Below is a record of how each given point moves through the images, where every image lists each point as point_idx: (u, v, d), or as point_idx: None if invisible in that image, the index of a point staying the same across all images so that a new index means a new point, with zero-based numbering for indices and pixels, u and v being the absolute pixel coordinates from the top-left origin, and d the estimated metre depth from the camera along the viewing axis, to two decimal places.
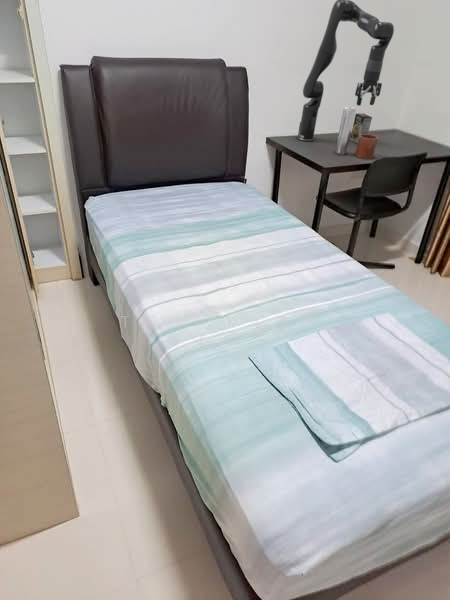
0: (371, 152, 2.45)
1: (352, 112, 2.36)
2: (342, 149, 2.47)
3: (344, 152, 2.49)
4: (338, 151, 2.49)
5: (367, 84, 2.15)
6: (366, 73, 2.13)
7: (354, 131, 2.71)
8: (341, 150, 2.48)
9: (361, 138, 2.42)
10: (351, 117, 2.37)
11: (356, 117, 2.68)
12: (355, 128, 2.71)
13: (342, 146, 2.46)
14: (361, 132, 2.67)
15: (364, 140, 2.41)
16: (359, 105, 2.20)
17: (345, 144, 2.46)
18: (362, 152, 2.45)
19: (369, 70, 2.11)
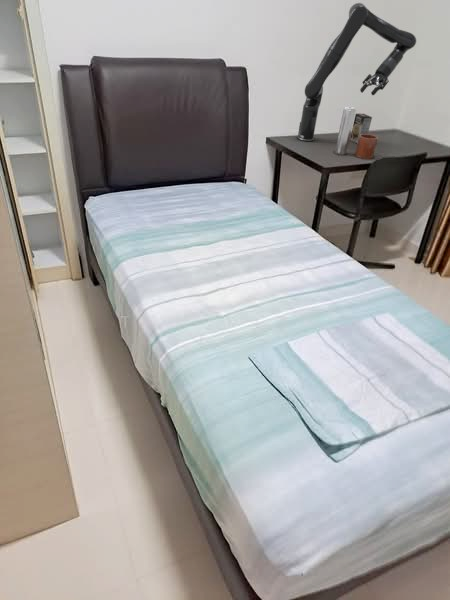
0: (371, 152, 2.45)
1: (352, 112, 2.36)
2: (342, 149, 2.47)
3: (344, 152, 2.49)
4: (338, 151, 2.49)
5: None
6: (389, 71, 2.34)
7: (354, 131, 2.71)
8: (341, 150, 2.48)
9: (361, 138, 2.42)
10: (351, 117, 2.37)
11: (356, 117, 2.68)
12: (355, 128, 2.71)
13: (342, 146, 2.46)
14: (361, 132, 2.67)
15: (364, 140, 2.41)
16: None
17: (345, 144, 2.46)
18: (362, 152, 2.45)
19: (391, 71, 2.35)
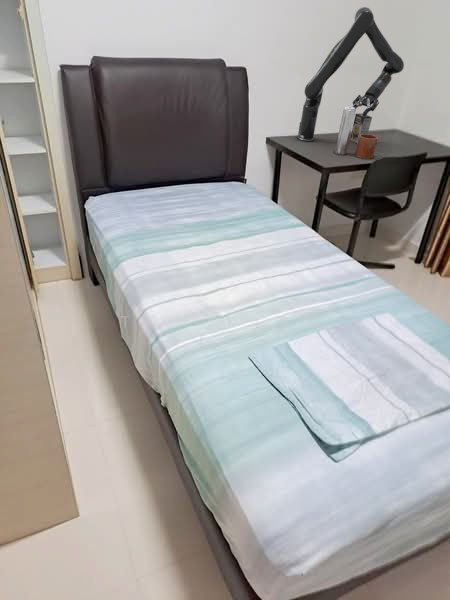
0: (371, 152, 2.45)
1: (352, 112, 2.36)
2: (342, 149, 2.47)
3: (344, 152, 2.49)
4: (338, 151, 2.49)
5: None
6: (379, 93, 2.40)
7: (354, 131, 2.71)
8: (341, 150, 2.48)
9: (361, 138, 2.42)
10: (351, 117, 2.37)
11: (356, 117, 2.68)
12: (355, 128, 2.71)
13: (342, 146, 2.46)
14: (361, 132, 2.67)
15: (364, 140, 2.41)
16: None
17: (345, 144, 2.46)
18: (362, 152, 2.45)
19: (381, 93, 2.41)
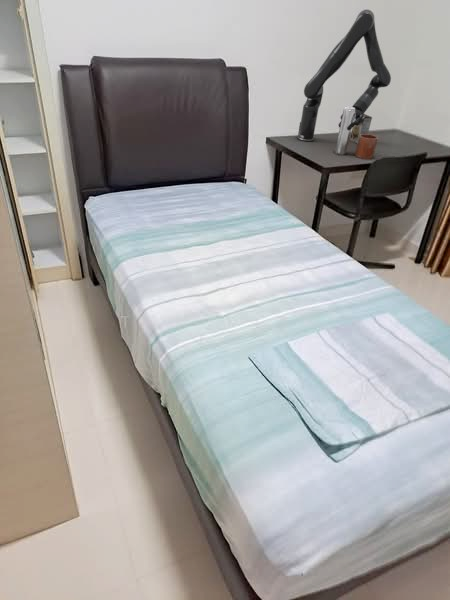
0: (371, 152, 2.45)
1: (352, 112, 2.36)
2: (342, 149, 2.47)
3: (344, 152, 2.49)
4: (338, 151, 2.49)
5: None
6: (365, 107, 2.39)
7: (354, 131, 2.71)
8: (341, 150, 2.48)
9: (361, 138, 2.42)
10: (351, 117, 2.37)
11: None
12: (355, 128, 2.71)
13: (342, 146, 2.46)
14: (361, 132, 2.67)
15: (364, 140, 2.41)
16: None
17: (345, 144, 2.46)
18: (362, 152, 2.45)
19: None
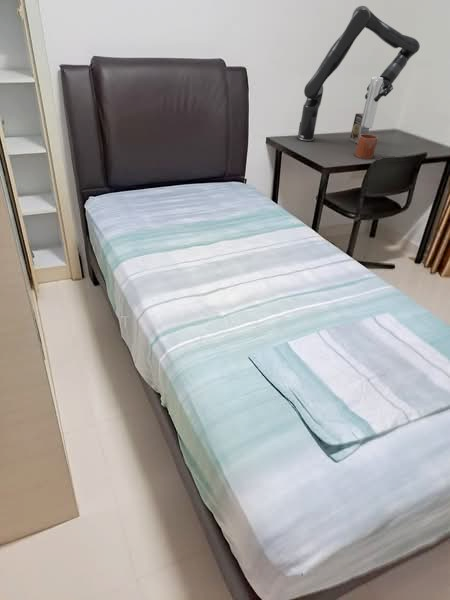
0: (371, 152, 2.45)
1: (380, 82, 2.26)
2: (368, 122, 2.37)
3: (370, 125, 2.38)
4: (364, 124, 2.39)
5: None
6: (394, 77, 2.29)
7: (354, 131, 2.71)
8: (367, 123, 2.37)
9: (361, 138, 2.42)
10: (379, 87, 2.27)
11: (356, 117, 2.68)
12: (355, 128, 2.71)
13: (369, 119, 2.36)
14: (361, 132, 2.67)
15: (364, 140, 2.41)
16: (376, 101, 2.31)
17: (372, 117, 2.36)
18: (362, 152, 2.45)
19: (396, 77, 2.30)
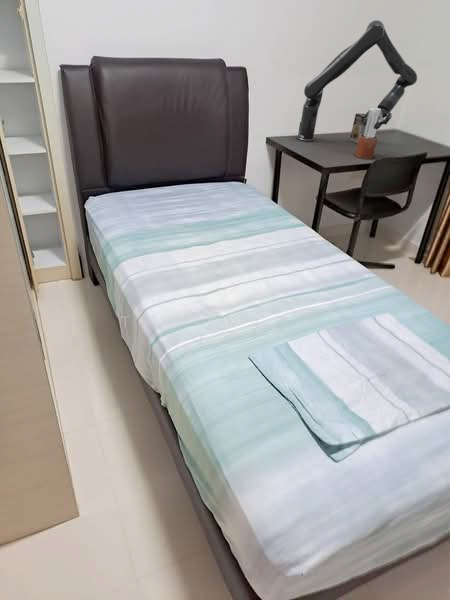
0: (371, 152, 2.45)
1: (378, 113, 2.34)
2: None
3: None
4: None
5: None
6: (391, 106, 2.37)
7: (354, 131, 2.71)
8: None
9: (361, 138, 2.42)
10: (377, 118, 2.36)
11: (356, 117, 2.68)
12: (355, 128, 2.71)
13: None
14: (361, 132, 2.67)
15: (364, 140, 2.41)
16: (376, 129, 2.38)
17: None
18: (362, 152, 2.45)
19: (394, 106, 2.38)
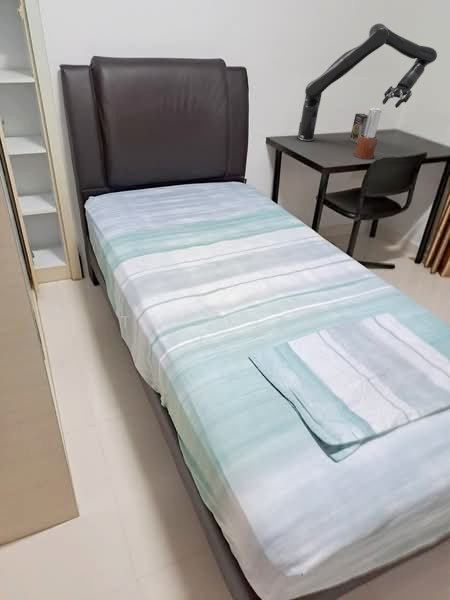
0: (371, 152, 2.45)
1: (378, 113, 2.34)
2: None
3: None
4: None
5: None
6: (411, 84, 2.37)
7: (354, 131, 2.71)
8: None
9: (361, 138, 2.42)
10: (377, 118, 2.36)
11: (356, 117, 2.68)
12: (355, 128, 2.71)
13: None
14: (361, 132, 2.67)
15: (364, 140, 2.41)
16: (396, 107, 2.38)
17: None
18: (362, 152, 2.45)
19: None
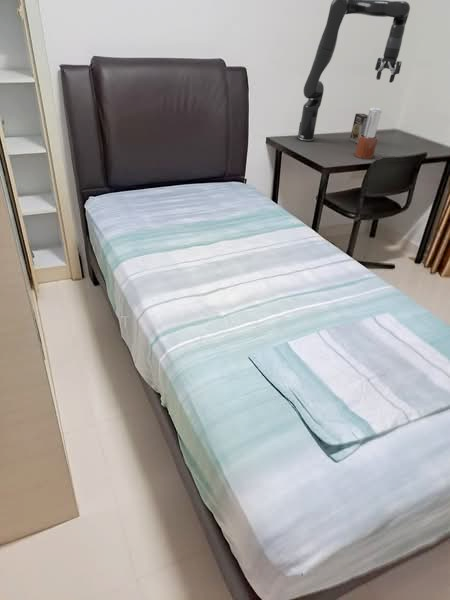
0: (371, 152, 2.45)
1: (378, 113, 2.34)
2: None
3: None
4: None
5: None
6: (397, 51, 2.27)
7: (354, 131, 2.71)
8: None
9: (361, 138, 2.42)
10: (377, 118, 2.36)
11: (356, 117, 2.68)
12: (355, 128, 2.71)
13: None
14: (361, 132, 2.67)
15: (364, 140, 2.41)
16: None
17: None
18: (362, 152, 2.45)
19: None
